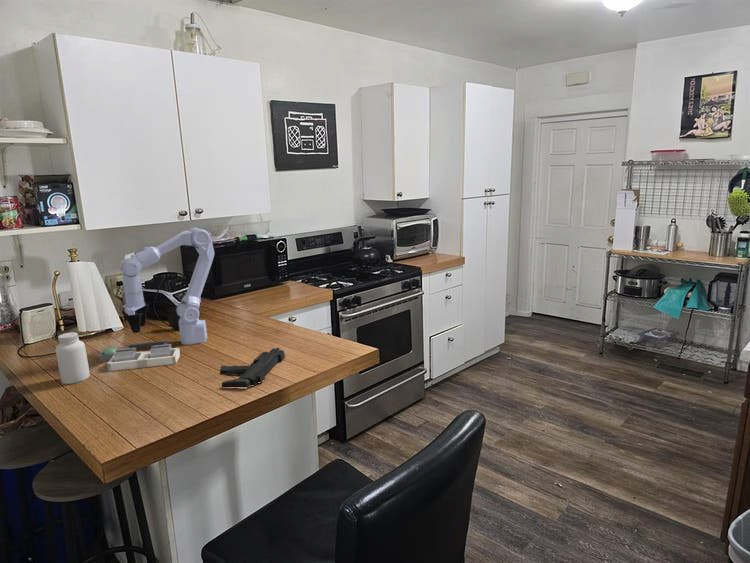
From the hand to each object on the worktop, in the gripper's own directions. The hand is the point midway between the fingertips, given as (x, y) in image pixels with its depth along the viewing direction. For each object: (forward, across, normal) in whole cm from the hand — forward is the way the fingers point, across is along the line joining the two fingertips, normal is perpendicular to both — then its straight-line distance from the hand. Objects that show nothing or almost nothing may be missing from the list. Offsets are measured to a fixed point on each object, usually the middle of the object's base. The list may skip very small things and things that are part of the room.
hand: (139, 329), depth 174 cm
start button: (+8, +3, -10) cm, 13 cm away
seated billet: (+8, +12, +9) cm, 17 cm away
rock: (+10, -27, +11) cm, 31 cm away
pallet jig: (+9, +12, +4) cm, 16 cm away
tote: (+9, +1, +1) cm, 10 cm away
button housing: (+9, +3, -10) cm, 14 cm away
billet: (+8, +12, -2) cm, 15 cm away
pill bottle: (+10, +18, -16) cm, 26 cm away
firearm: (+10, +25, +37) cm, 46 cm away
